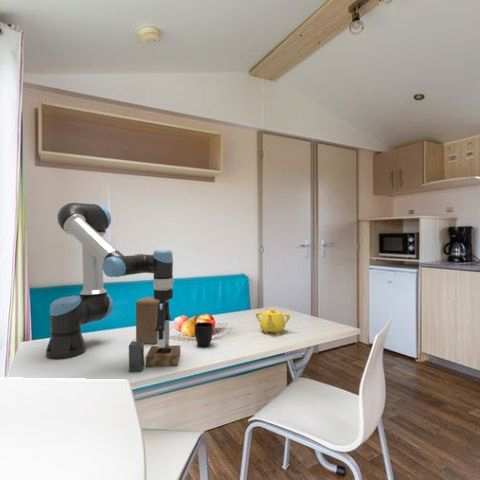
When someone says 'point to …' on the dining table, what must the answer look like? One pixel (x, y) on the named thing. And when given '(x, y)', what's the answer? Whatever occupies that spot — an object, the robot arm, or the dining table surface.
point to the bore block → (163, 357)
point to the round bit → (166, 338)
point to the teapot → (272, 321)
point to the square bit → (136, 356)
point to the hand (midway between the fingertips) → (163, 341)
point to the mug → (203, 333)
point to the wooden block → (146, 320)
